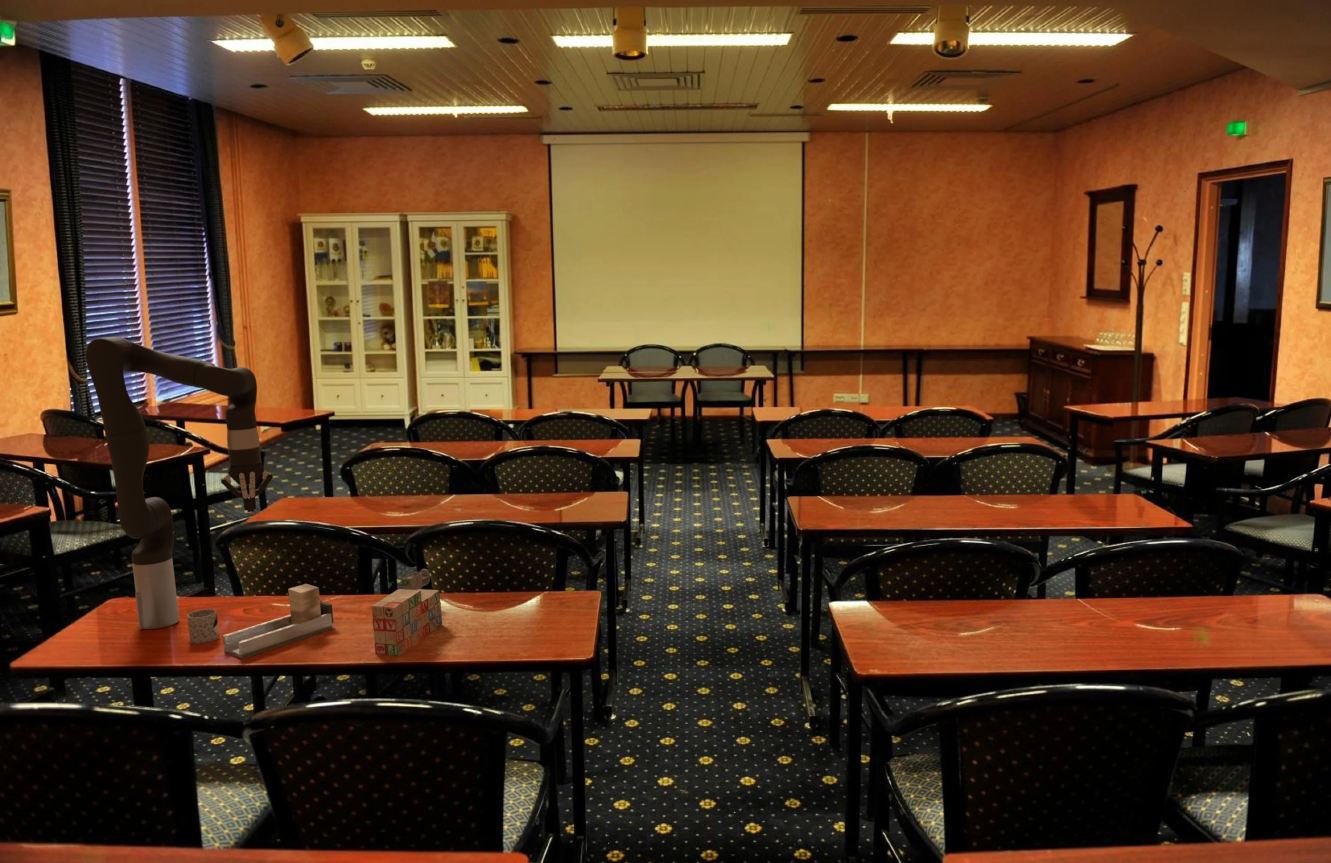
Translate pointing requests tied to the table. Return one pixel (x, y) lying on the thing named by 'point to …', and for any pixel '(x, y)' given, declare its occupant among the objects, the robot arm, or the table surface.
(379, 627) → the stack of blocks
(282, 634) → the chute
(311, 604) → the birch block
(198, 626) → the mug
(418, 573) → the mechanical component
